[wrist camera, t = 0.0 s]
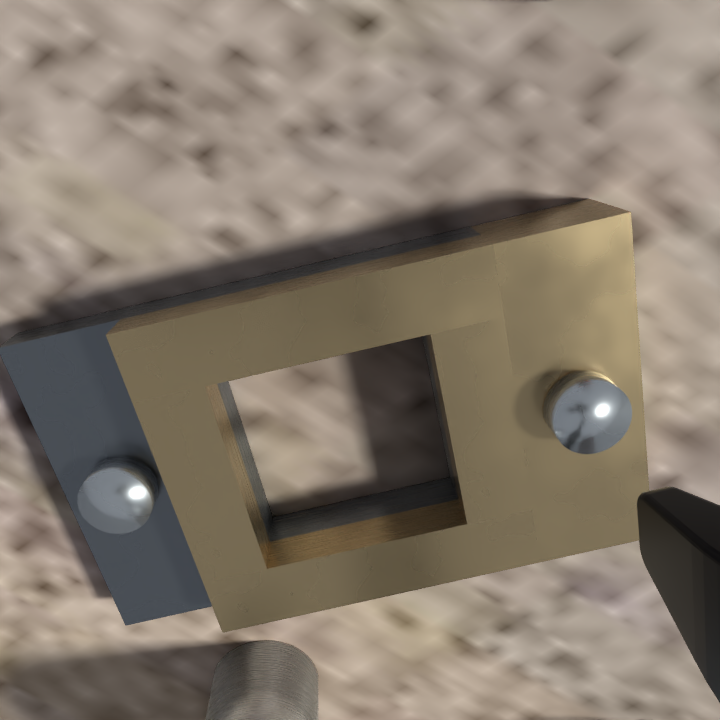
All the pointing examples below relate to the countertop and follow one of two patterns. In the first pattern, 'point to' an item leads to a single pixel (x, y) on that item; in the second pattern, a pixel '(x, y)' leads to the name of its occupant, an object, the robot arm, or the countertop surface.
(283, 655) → the pin
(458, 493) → the upper end link
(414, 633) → the countertop surface
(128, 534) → the lower end link
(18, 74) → the countertop surface
